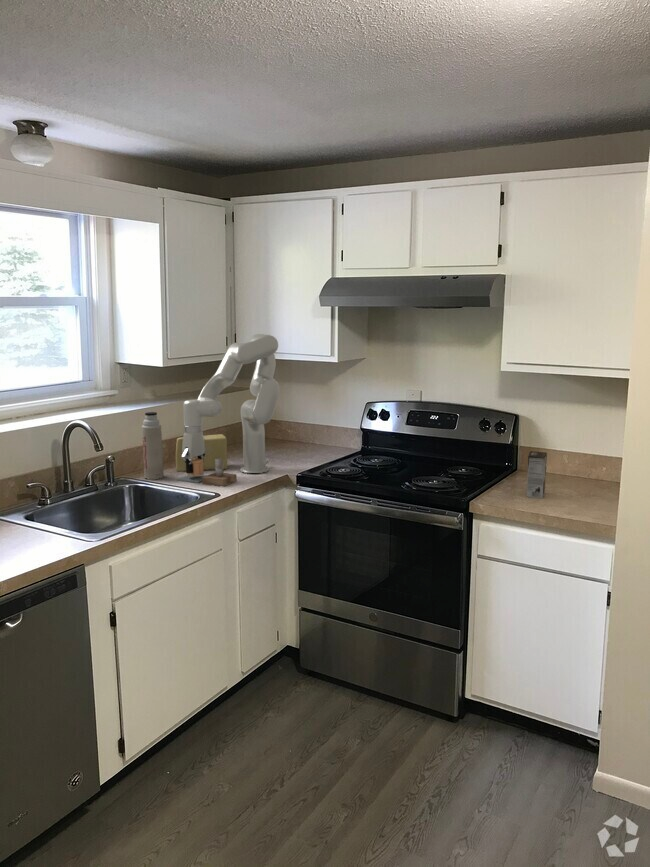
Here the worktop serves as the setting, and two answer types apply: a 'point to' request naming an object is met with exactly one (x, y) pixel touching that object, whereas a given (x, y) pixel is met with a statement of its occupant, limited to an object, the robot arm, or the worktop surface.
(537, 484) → the coffee box
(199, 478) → the mat
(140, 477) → the worktop surface
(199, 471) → the cap
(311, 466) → the worktop surface
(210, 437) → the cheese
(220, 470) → the post stand
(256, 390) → the robot arm
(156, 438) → the thermos bottle
